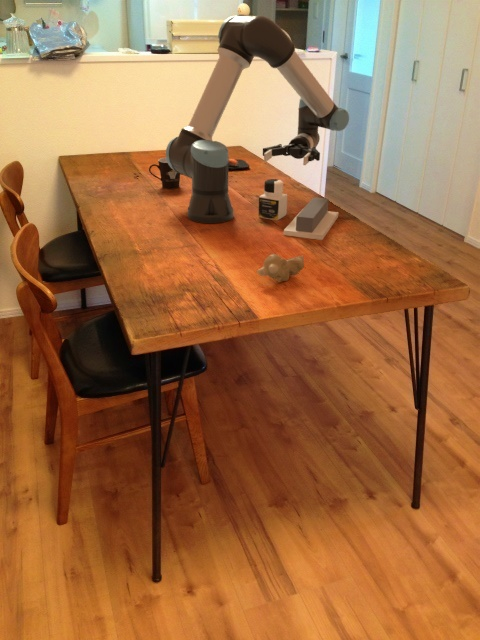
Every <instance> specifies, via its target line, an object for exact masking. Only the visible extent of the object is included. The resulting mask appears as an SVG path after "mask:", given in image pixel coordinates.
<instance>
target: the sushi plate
mask: <svg viewBox="0 0 480 640" xmlns="http://www.w3.org/2000/svg"><path fill="white" fill-rule="evenodd" d="M249 167H250V164H249V163H247V162H246V161H245V160H243V159H236V158H229V164H228V171H229V170H241V169H247V168H249Z"/></svg>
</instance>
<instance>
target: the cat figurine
mask: <svg viewBox="0 0 480 640" xmlns="http://www.w3.org/2000/svg"><path fill="white" fill-rule="evenodd" d="M304 261H305V260H304V255H301V254H300V255H299V256H295V257H291V258H288V259H286V258H282V257H281V256H280V255H279V254H276V253H272V254H270V255H267V257H266V258H265V259H264V261H263V266H262V267H260V268H259V269H257V270H256V273H257V274H258V275H260V276H263V277H265V276H268V277H269V278H272V279H274V280H276V281H277V282H278V283H281V282H287V281H289V278H290V276H295V275H298V274H299V273H300V271H301V270H303V269H304V267H305V262H304Z"/></svg>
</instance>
